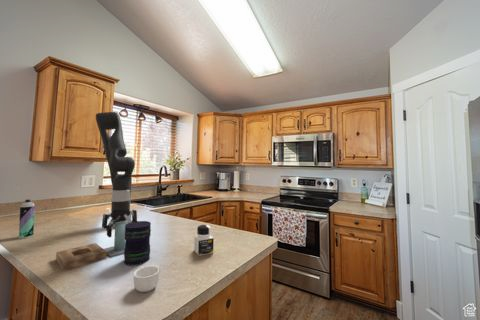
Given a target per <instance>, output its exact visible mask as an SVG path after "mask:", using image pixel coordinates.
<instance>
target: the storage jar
mask: <svg viewBox="0 0 480 320" xmlns="http://www.w3.org/2000/svg"><path fill="white" fill-rule="evenodd" d="M151 224H152V223H151V221H146V220H137V221H136V222H131V223H128V224H126V225H125V249H124V254H123V258H124V261H123V263H124V265H126V266H139V265H143V264H145V263H147V262H148V261H149V260H150V259H151V256H150V255H151V244H150V242H151V241H150V240H151V239H150V238H151V235H152V234H151V231H152V230H151V229H152V227H151Z"/></svg>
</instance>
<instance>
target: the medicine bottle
mask: <svg viewBox="0 0 480 320" xmlns="http://www.w3.org/2000/svg"><path fill="white" fill-rule="evenodd" d="M211 228H212V227H211V225H209V224H200V225H198V226H197V231H196V232H197V234H195V235H193V236H194V238H193V239H194V240H193V241H194V242H193V243H194V244H193V245H194V246H193V247H194V248H193V250H194V252H195V253H196V255H197V256H199V257H200V256H205V255H210V254H214V237H213V236H212V235H211V233H212V232H211Z"/></svg>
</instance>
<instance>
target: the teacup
mask: <svg viewBox="0 0 480 320" xmlns="http://www.w3.org/2000/svg"><path fill="white" fill-rule="evenodd" d="M160 273H161V267H159V266H157V265H147V266H142V267H140V268H138V269H136V270H135V271H134V272H133V285H134V288H135V290H136V291H137V292H140V293H147V292H151V291H152V290H153V289H154V288H155V287H157V285H158V284H159V280H160V279H159V278H160Z"/></svg>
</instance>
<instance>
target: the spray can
mask: <svg viewBox="0 0 480 320" xmlns="http://www.w3.org/2000/svg"><path fill="white" fill-rule="evenodd" d="M18 225H19V228H18V229H19V230H18V239H21V240H22V239H30V238H32V237H34V232H35V230H34V229H35V227H34V226H35V203H34V202H32V201H31V199H25V201H24V202H23V203H21V204H20V206H19V223H18Z"/></svg>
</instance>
